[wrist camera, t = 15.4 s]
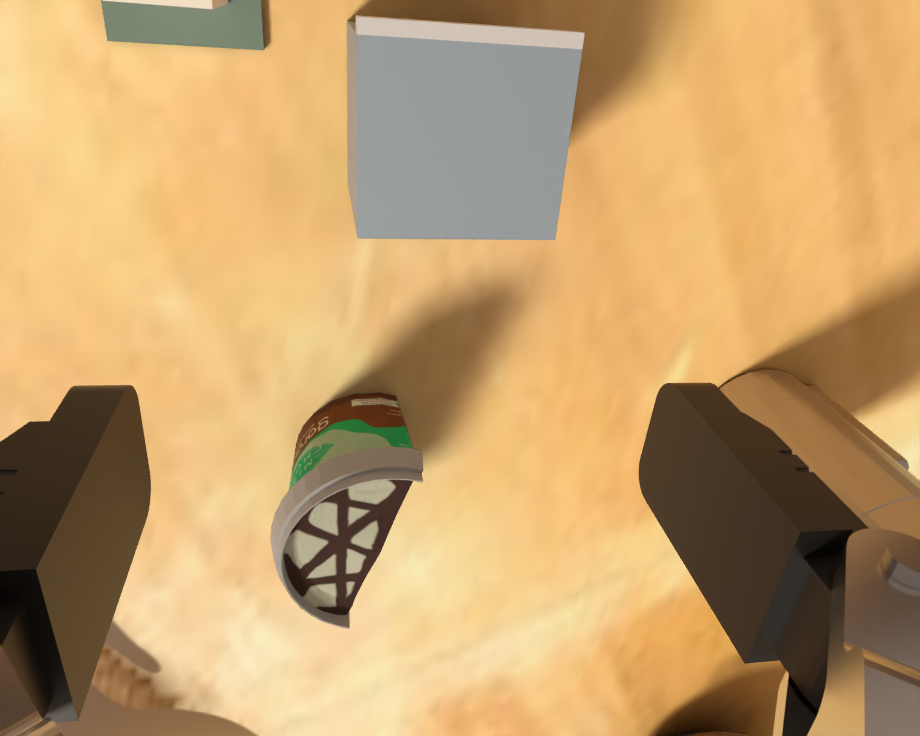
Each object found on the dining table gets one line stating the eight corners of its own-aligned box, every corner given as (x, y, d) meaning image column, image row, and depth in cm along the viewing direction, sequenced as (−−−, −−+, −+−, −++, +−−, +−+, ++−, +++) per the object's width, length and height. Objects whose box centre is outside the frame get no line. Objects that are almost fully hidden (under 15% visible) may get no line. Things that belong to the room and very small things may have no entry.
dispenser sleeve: (525, 20, 35) (584, 32, 28) (507, 188, 39) (555, 240, 32) (346, 7, 33) (357, 16, 26) (348, 184, 38) (357, 238, 30)
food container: (311, 349, 42) (311, 445, 34) (404, 377, 44) (427, 473, 36) (253, 502, 47) (240, 619, 38) (339, 520, 49) (346, 635, 40)
